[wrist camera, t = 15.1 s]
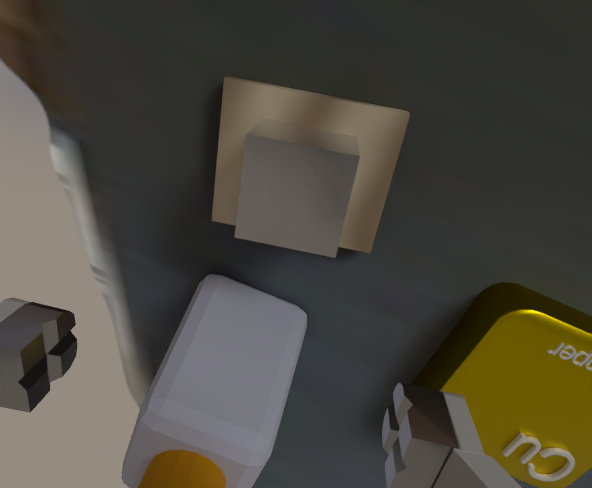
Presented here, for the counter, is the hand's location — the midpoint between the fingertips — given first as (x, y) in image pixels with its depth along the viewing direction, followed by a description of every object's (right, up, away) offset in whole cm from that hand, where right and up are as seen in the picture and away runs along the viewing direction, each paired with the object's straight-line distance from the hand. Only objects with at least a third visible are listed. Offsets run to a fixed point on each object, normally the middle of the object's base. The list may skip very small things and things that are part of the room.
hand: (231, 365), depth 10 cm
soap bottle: (-4, -6, +26) cm, 27 cm away
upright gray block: (+2, +8, +17) cm, 19 cm away
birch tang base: (+2, +9, +19) cm, 21 cm away
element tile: (+21, -8, +25) cm, 34 cm away
